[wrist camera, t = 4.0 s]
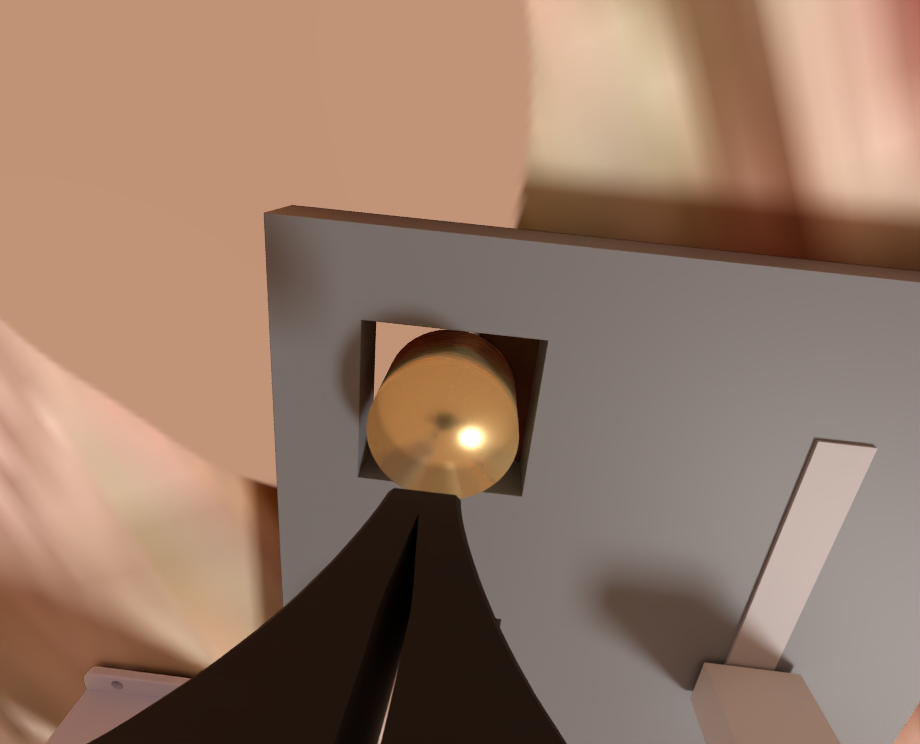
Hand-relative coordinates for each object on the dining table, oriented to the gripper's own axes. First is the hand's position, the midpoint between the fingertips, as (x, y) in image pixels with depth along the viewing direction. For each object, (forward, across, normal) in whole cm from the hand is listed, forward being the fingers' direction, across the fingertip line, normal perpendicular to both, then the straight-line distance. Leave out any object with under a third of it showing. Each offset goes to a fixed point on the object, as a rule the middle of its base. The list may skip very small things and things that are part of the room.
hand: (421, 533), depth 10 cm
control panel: (+7, -6, +5) cm, 10 cm away
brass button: (+7, 0, 0) cm, 7 cm away
